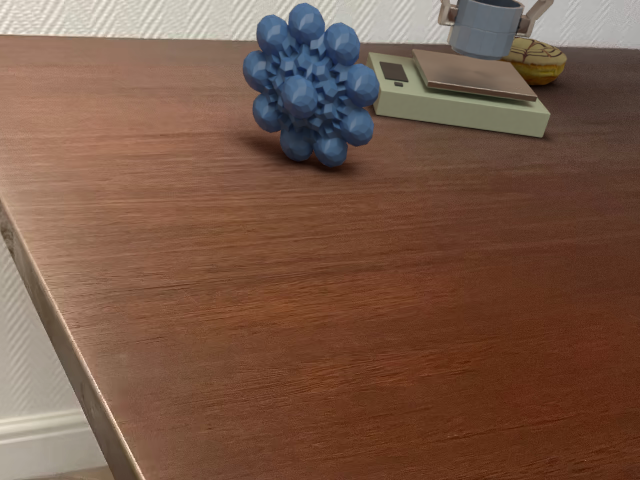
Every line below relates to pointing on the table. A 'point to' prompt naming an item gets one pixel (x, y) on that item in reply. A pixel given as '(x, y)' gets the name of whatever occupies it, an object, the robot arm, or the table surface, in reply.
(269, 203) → the table surface
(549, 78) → the decorated donut
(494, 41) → the cup
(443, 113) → the scale
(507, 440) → the table surface
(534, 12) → the robot arm
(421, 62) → the scale pan
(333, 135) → the blue knobbed flower
